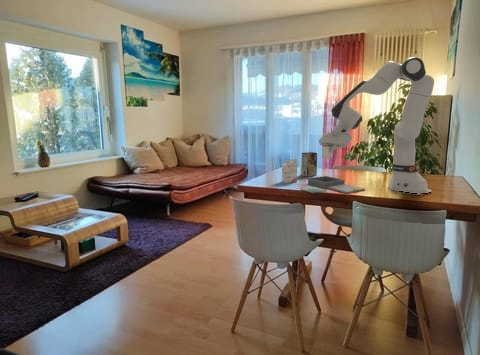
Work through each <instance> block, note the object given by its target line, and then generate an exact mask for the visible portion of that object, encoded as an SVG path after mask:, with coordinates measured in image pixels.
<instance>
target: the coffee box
mask: <svg viewBox="0 0 480 355" xmlns="http://www.w3.org/2000/svg"><path fill="white" fill-rule="evenodd" d="M300 166H301V169H300V170H301V172H300V173H301V174H300V176H303V177H314V176H315V177H316V176H318V174H317V172H318V152H316V151H315V152H314V151H313V152H312V151H307V152H306V151H305V152H301V164H300Z"/></svg>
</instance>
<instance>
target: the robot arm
mask: <svg viewBox="0 0 480 355" xmlns="http://www.w3.org/2000/svg"><path fill="white" fill-rule="evenodd" d="M426 73H427V71H426V67H425V63H424V61H423V60H422V59H421V58H419V57H417V56H413V57H408V58H407V59H405V60H404V62H403V63H398V62H396V61H391V60H389V61H387V62H386V63H385V64H383V65H382V66H381V67H380V69H378V70H377V72H375V74H374V75H372V77H371V78H369V79H367V80H362V81H361V82H359V83H358V84H357V85H356V86H354V88H352V90H350V91H349V92H348V93H346V95H344V97H343V98H342V99H341V100H339V101H337V102H336V103H335V104H334V105H333V106H332V107H331V115H332V117H333V118H335V119H337V120H339V121H338V123H337V124H336V125H335V126H334V127H333V129H332V130H331V132H327V133H325V134H323V135H322V136H321V137H320V139H319V140H318V143H319V144H320V146H322V147H323V145H324V144H330V145H333V147H332V148H330V149H329V151H330V152H334V150H336V149H338V148H340V149H342V148H343V149H346V147H348V145H349V144H350V142H351V141H352V139H353V136H352V135H351V133H350V131H351V130H352V131H353V130H356V129H358V127H359V126H360V124H361V122H362V121H363V115H362V113H360V112H358V111H357V110H356V109H354V108H353V107H351V106H350V105H349V102H351V101H352V100H353V99H354V98H355V97H356V96H357V95H359V94H361V93H364V94H368V95H373V96H380V95H384V94H386V92H388V91H389V89H390V88H391V87H392V86H393V85H394V83H396V81H397V80H398V79H399V80H402V81H406V82H410V88H409V92H408V94H407V97H406V99H405V100H406V101H405V102H404V106H403V109H402V114H401V117H400V121H398V122H396V124H395V126H394V130H393V132H394V133H393V148H394V149H393V161H392V162H393V163H392V164H391V177H390V180H389V183H388V186H387V187H388V189H389V190H390V191H393V190H394V191H395V192H399V191H404V192H403V193H405V192H410V193H409V194H411V193H417V194H416V195H421V194H420V193H428V192H431V193H432V189H429V188H428V181H427V180H426V179H425V178H424V177H422V175H421V174H420V173H419V172H418V170H419V169H420V167H419V166H416V165H415V164H416V152H417V150H416V139H417V138H418V137H419V136H420V133H421V129H422V126H423V122H424V118H425V113H426V111H427V108H428V105H429V102H430V100H431V96H432V93H433V90H434V85H435V79H434V78H433V77H432V76H431V75H429V74H426ZM394 191H393V192H394ZM428 194H429V193H428Z"/></svg>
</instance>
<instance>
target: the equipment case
mask: <svg viewBox="0 0 480 355" xmlns="http://www.w3.org/2000/svg"><path fill="white" fill-rule="evenodd" d="M307 184H308V185H310V186H313V187H317V188H321V189H325V190H331V191H334V190H335V192H338V191H339V192H338V193H341V194H352V193H353V192H354V193H358V191H359V192H364V190H365V191H366V188H364V187H359V186H355V185H350V184H346V183H345V179H342V178H337V177H333V176H328V175H324V176H315V177H307ZM354 193H353V194H354Z"/></svg>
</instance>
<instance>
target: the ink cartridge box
mask: <svg viewBox="0 0 480 355" xmlns="http://www.w3.org/2000/svg"><path fill="white" fill-rule="evenodd" d="M297 182H298V159H297V158H292V159H286V160H285V163H282V164H281V183H285V184H287V183H288V184H289V183H297Z"/></svg>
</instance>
